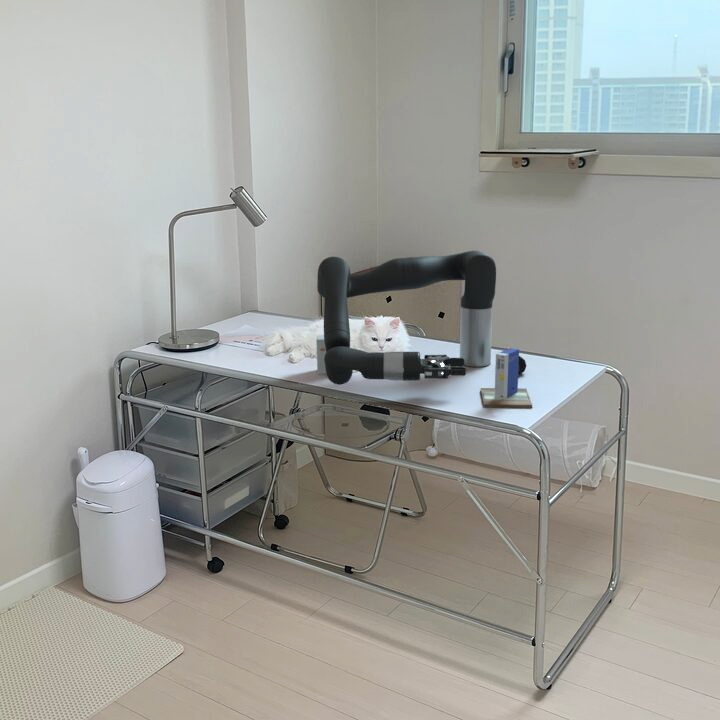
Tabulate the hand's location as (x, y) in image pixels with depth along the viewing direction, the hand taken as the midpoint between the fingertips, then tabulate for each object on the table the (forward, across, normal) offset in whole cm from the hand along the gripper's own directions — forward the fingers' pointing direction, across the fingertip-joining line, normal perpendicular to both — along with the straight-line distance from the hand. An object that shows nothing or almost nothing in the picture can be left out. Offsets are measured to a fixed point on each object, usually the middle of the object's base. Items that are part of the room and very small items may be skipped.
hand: (464, 366), depth 223 cm
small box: (-37, -24, -9) cm, 45 cm away
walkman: (+11, -1, -8) cm, 14 cm away
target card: (+11, 0, -9) cm, 14 cm away
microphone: (+13, -18, -9) cm, 24 cm away
